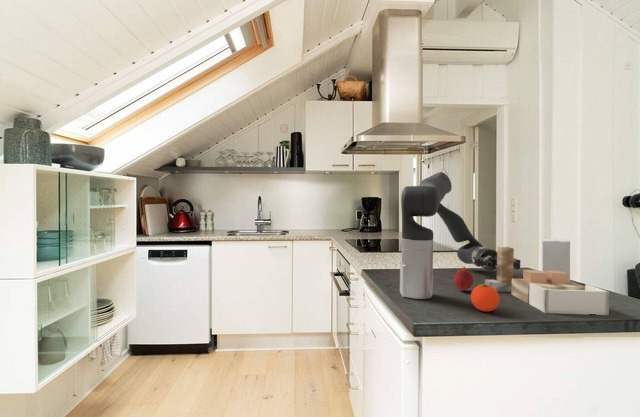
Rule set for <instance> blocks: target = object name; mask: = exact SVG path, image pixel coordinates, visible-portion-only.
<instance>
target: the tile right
mask: <svg viewBox="0 0 640 417" xmlns="http://www.w3.org/2000/svg"><path fill="white" fill-rule="evenodd" d="M544 272H545V273H547V282H550V283H553V284H568V273H565V272H562V271H552V270H544Z"/></svg>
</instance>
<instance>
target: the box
mask: <svg viewBox="0 0 640 417" xmlns="http://www.w3.org/2000/svg"><path fill="white" fill-rule="evenodd" d="M584 287H585V290H554V289H545V288H543V287H541V286H538V285H536V284H534V283H530V287H529V304H528V305H529V306H532V307H533V308H535V309H537V310H539V311H541V312H542V313H544V314H563V315H565V314H567V315H589V314H596V315H595V316H609V314H610V311H609V310H610V291H608V290H605V289H602V288H600V287H597V286H594V285H590V284H584Z"/></svg>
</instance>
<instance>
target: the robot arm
mask: <svg viewBox="0 0 640 417" xmlns="http://www.w3.org/2000/svg"><path fill="white" fill-rule="evenodd" d="M452 186H453V185H452V182H451V179H450V177H449V176H448V175H447V174H446V173H445V172H443V171H439V172H437V173H434V174H432V175H430V176H429V177H426V178H424V179H422V180H421V182H420V184H419V185H411V186H410V185H409V186H404V188H403V189H402V191H401V195H400V196H401V197H400V198H401V200H400V204H401V261H400V264H399V269H400V270H399V293H400V294H401V296H402V298H410V299H418V300H426V299H431V298H433V291H434V289H433V287H434V286H433V285H434V284H433V282H434V280H433V277H434V276H433V274H434V231H433V230H432V229H431V228H428V227H425V226H423V225H421V224H419V223H418V222H417V221H416V220H415V219H414V217H422V218H424V217H425V218H428V217H433V216H435V215H436V214H438V216H439V217H440V219H441V221H442V222H444V224H445V226H446V227H447V230H448V232H449V233H450V235H451V236H452V239H453V240H454V242H456V243H464V242H466V241H467V242H468V243H466V244H464V245H463V246H460V247H459V248H458V249H457V251H456V254H457V258H458V259H459V260H460V261H461V262H462V263H464V264H468V265H471V264H472V265H474V266H476V267H478V268H479V267H480V268H482V269H485V270H487V271H494V270H497V250H495V249H493V248H492V249H491V248H488V247H485V246H483V244H482V243H481V242H479V240H478V239H476V237H475V236H474V235H473V234H472V232H471V231H470V230H469V228H468V226H467V224H466V221H465V220H464V219H463V217H461V216H460V215H459V214H458V213H456V212H454V211H452V210H451V209H449V208H448V207H446V206H445V205H443V204H442V203H441V202H442V201H443V199H444V197H445V196H446V195H447V194H449V193H450V192H451V191H452ZM513 269H515V270H520V269H521V260H520V259H518V258H514V259H513Z"/></svg>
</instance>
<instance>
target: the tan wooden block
mask: <svg viewBox="0 0 640 417" xmlns="http://www.w3.org/2000/svg"><path fill="white" fill-rule="evenodd" d="M534 284H536V285H538V286H541V287H543V288H545V289H554V290H585V285H581V284H579V283H576V282H573V281H571V280H570V281H568V284H553V283H550V282H547V283H534ZM529 287H530V282H528V281H525V280H523V278H517V277H515V278H514V277H513V278H512V292H510V293H511V295H512V296H514V297H515V298H517V299H519V300H521V301H522V302H524V303H525V304H528V305H530V304H529Z"/></svg>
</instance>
